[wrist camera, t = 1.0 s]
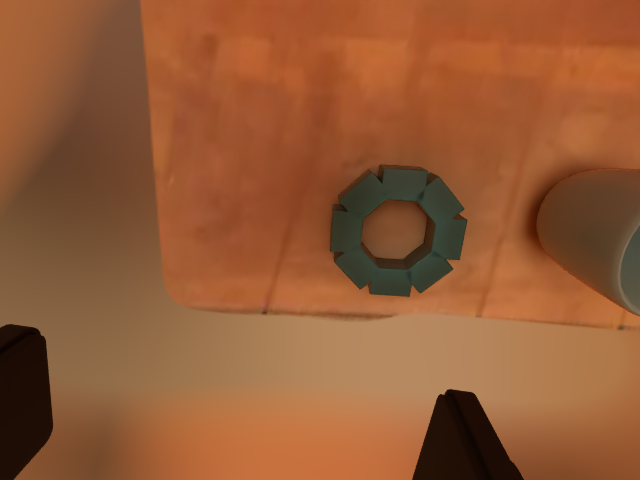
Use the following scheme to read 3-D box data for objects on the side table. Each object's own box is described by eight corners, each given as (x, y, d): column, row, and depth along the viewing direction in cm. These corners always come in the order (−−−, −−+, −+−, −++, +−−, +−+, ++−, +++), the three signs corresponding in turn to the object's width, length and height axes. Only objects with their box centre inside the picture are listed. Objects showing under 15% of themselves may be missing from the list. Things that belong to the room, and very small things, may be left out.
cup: (507, 253, 29) (592, 316, 20) (537, 154, 27) (651, 171, 17) (603, 266, 29) (735, 335, 20) (642, 168, 27) (812, 193, 17)
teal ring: (403, 138, 27) (410, 139, 25) (479, 233, 29) (491, 242, 27) (306, 222, 29) (304, 229, 27) (382, 305, 31) (386, 318, 29)
